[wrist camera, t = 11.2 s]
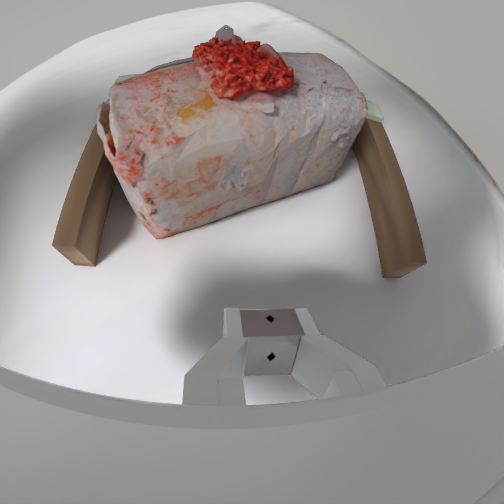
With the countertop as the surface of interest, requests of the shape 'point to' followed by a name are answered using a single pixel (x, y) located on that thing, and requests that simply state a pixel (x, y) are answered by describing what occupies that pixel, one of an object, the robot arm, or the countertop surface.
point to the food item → (227, 131)
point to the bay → (371, 167)
